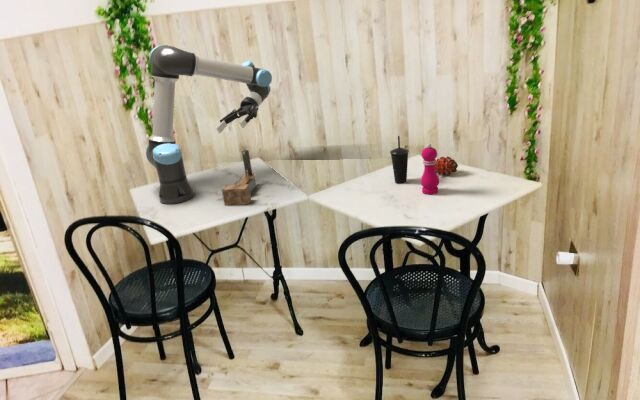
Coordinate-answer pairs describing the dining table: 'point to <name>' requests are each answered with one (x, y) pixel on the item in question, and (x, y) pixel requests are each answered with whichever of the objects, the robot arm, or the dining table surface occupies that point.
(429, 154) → the pepper mill
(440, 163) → the pine cone
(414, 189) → the dining table surface
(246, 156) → the mallet
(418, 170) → the dining table surface
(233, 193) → the socket block
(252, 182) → the channel
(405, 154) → the drinking cup
